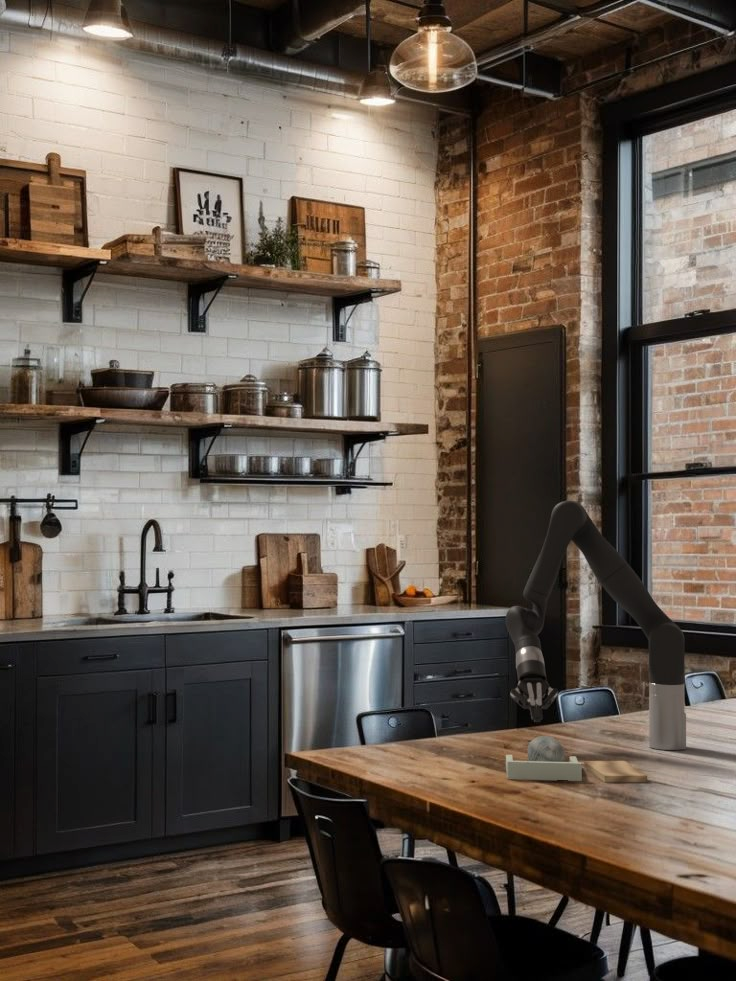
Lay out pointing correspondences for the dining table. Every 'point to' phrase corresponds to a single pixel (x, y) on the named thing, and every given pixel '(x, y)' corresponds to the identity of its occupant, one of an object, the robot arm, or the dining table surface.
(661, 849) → the dining table surface
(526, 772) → the cradle
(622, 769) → the oak board
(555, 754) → the grey stone
